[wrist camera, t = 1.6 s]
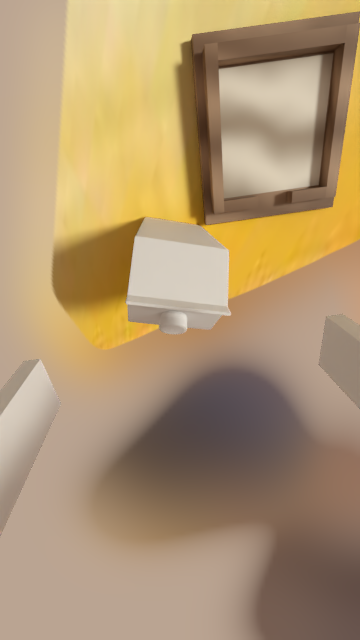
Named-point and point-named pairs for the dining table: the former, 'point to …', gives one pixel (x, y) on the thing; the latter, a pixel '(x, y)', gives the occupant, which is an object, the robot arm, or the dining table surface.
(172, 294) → the milk carton
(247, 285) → the dining table surface
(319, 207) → the brown picture frame
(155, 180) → the dining table surface
